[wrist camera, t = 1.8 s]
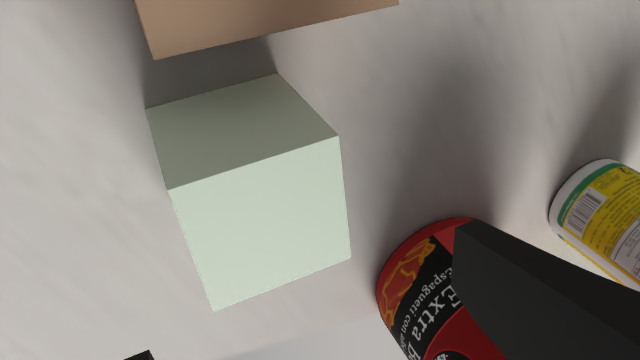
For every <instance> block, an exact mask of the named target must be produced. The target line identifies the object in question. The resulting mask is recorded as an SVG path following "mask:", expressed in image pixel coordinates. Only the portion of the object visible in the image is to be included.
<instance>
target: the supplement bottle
mask: <svg viewBox="0 0 640 360" xmlns="http://www.w3.org/2000/svg"><path fill="white" fill-rule="evenodd" d="M549 223H550V226H551V229H552V231H553V232H554V233H555V234H556V235H557V236H559V237H560V238H561V239H562V240H564V241H565V242H566V243H567V244H569V245H570V246H571V247H573V248H574V249H575V250H576V251H578V252H579V253H580V254H582V255H583V256H584V257H586V258H587V259H588V260H589V261H591V262H592V263H593V264H595V265H596V266H597V267H598V268H600V269H601V270H602V271H604V272H605V273H606V274H607V275H609V276H610V277H611V278H613V279H614V280H615V281H616V282H618V283H619V284H621V285H624V286H626V287H629V288H631V289H634V290H637V291H639V292H640V173H639V172H637V171H636V170H634V169H632V168H630V167H628V166H625V165H624V164H622V163H620V162H617V161H615V160H612V159H602V160H597V161H594V162H592V163H589V164H587V165H586V166H584V167H582V168H581V169H579V170H578V171H577V172H576V173H574V174H573V175H572V176H571V177H570V178H569V179H568V180H567V181H566V182H565V183H564V185H563V186H562V187H561V189H560V190H559V192H558V193H557V195H556V196H555V198H554V200H553V203H552V205H551V208H550V213H549Z"/></svg>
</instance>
